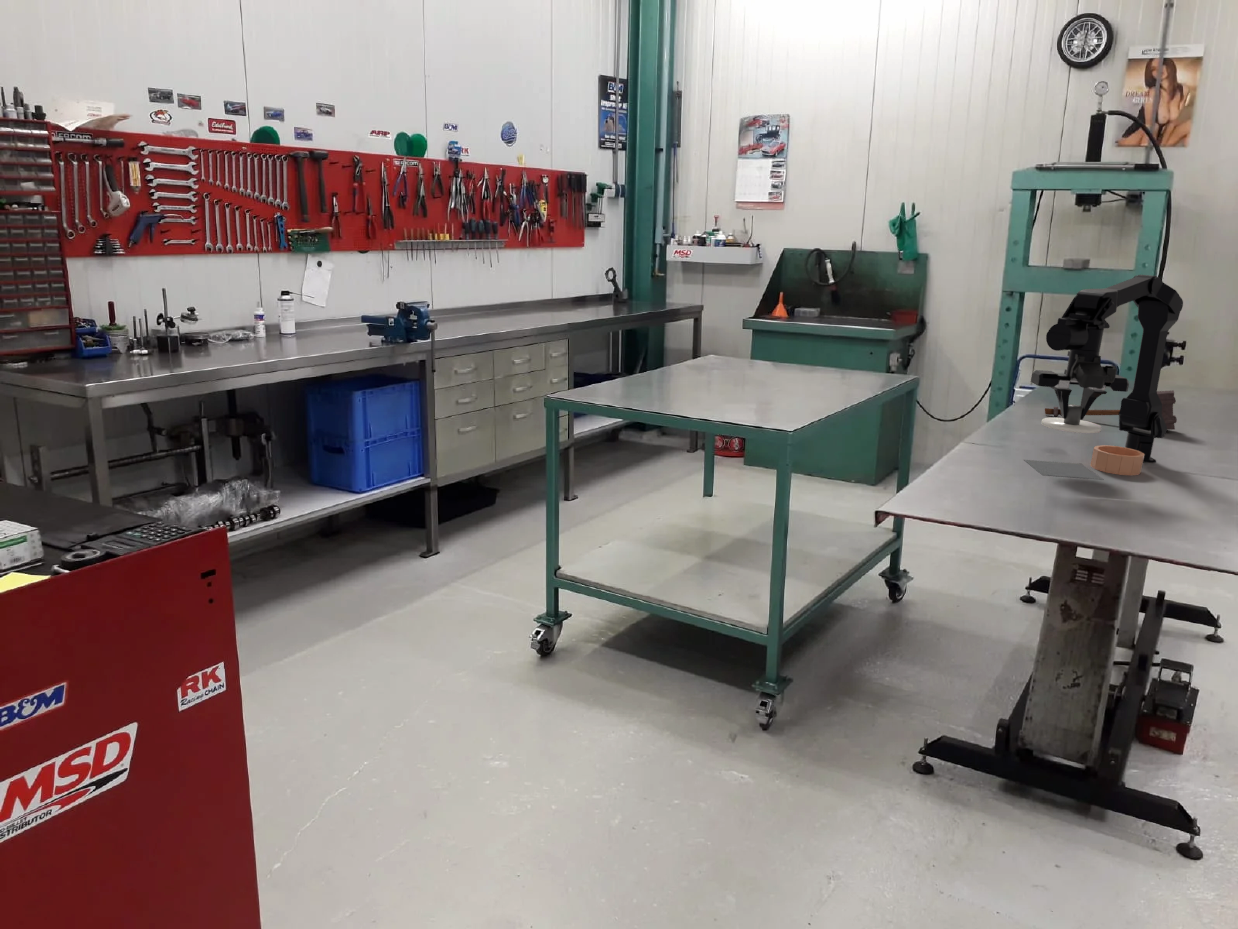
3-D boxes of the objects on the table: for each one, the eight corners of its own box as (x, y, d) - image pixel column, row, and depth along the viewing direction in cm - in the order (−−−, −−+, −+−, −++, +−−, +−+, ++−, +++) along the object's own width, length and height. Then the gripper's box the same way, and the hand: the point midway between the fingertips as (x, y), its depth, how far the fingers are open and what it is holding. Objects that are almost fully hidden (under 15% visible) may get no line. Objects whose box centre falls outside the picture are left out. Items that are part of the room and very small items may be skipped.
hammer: (1177, 429, 246) (1176, 393, 245) (1044, 434, 263) (1043, 400, 261) (1176, 425, 252) (1175, 389, 250) (1046, 430, 269) (1045, 397, 267)
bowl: (1084, 462, 212) (1087, 444, 211) (1128, 465, 211) (1132, 447, 210) (1101, 474, 203) (1104, 454, 201) (1147, 477, 202) (1151, 458, 201)
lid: (1034, 419, 208) (1037, 398, 207) (1088, 422, 207) (1092, 402, 206) (1052, 431, 197) (1056, 409, 195) (1109, 435, 195) (1114, 413, 194)
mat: (1023, 460, 211) (1023, 459, 211) (1081, 464, 210) (1081, 463, 210) (1041, 476, 199) (1042, 474, 199) (1103, 480, 198) (1104, 479, 198)
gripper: (1053, 351, 190) (1040, 424, 194) (1146, 357, 188) (1131, 430, 193) (1036, 344, 201) (1024, 413, 205) (1124, 349, 199) (1110, 418, 203)
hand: (1072, 419), depth 201 cm, fingers closed on lid, 3 cm apart
